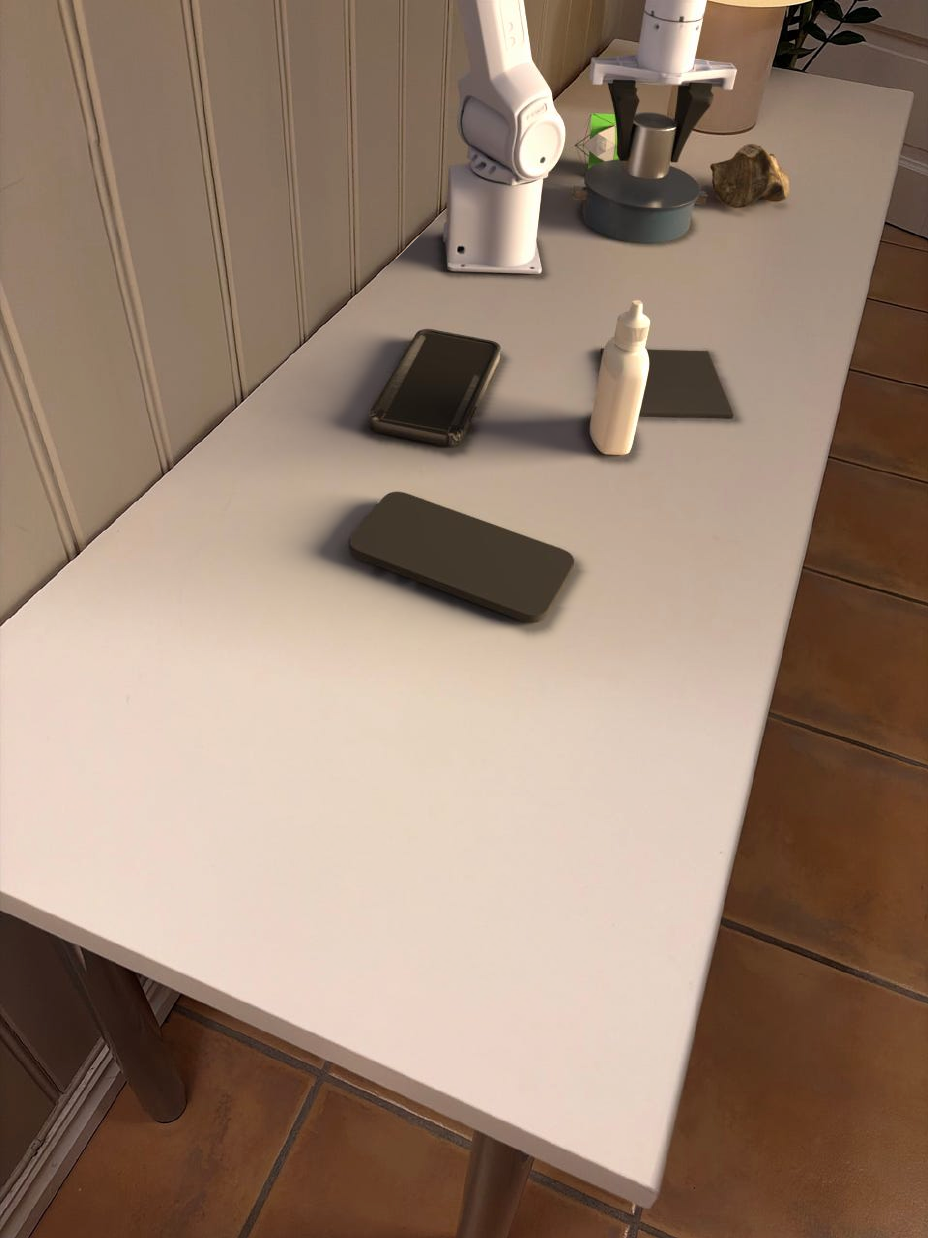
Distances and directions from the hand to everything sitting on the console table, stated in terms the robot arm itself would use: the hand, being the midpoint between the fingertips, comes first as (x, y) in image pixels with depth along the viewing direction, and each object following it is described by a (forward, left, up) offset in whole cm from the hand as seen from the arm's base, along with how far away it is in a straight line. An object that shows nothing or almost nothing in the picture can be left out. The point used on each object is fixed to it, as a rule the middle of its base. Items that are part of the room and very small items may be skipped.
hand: (646, 157), depth 105 cm
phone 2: (-22, -56, -7) cm, 61 cm away
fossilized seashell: (+14, +6, -7) cm, 17 cm away
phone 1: (-23, -35, -7) cm, 42 cm away
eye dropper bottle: (-9, -41, -7) cm, 42 cm away
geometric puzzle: (-2, +12, -7) cm, 14 cm away
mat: (-3, -33, -7) cm, 34 cm away
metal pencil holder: (0, 0, -1) cm, 1 cm away
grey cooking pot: (0, 0, -7) cm, 7 cm away
